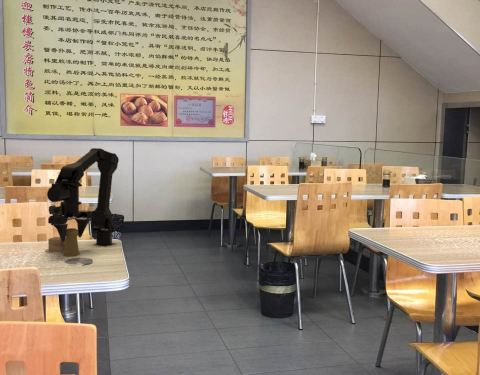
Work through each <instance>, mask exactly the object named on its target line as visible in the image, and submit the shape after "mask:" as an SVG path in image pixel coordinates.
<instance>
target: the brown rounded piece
mask: <svg viewBox="0 0 480 375" xmlns="http://www.w3.org/2000/svg"><path fill="white" fill-rule="evenodd" d="M79 248H80V247H79V243H78V228H73V227H71V228H69V227H68V228H67V232H66V241H65V249H64V253H63V257H67V258H74V257H75V258H76V257H78V256H80V249H79Z"/></svg>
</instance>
